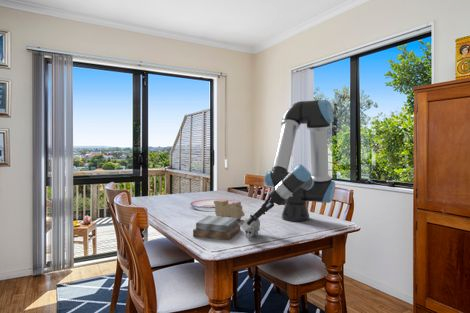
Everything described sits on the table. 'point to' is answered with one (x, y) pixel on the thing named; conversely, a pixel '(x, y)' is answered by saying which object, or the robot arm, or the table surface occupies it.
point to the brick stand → (217, 227)
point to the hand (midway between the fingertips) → (247, 224)
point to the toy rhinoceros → (252, 228)
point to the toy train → (228, 209)
